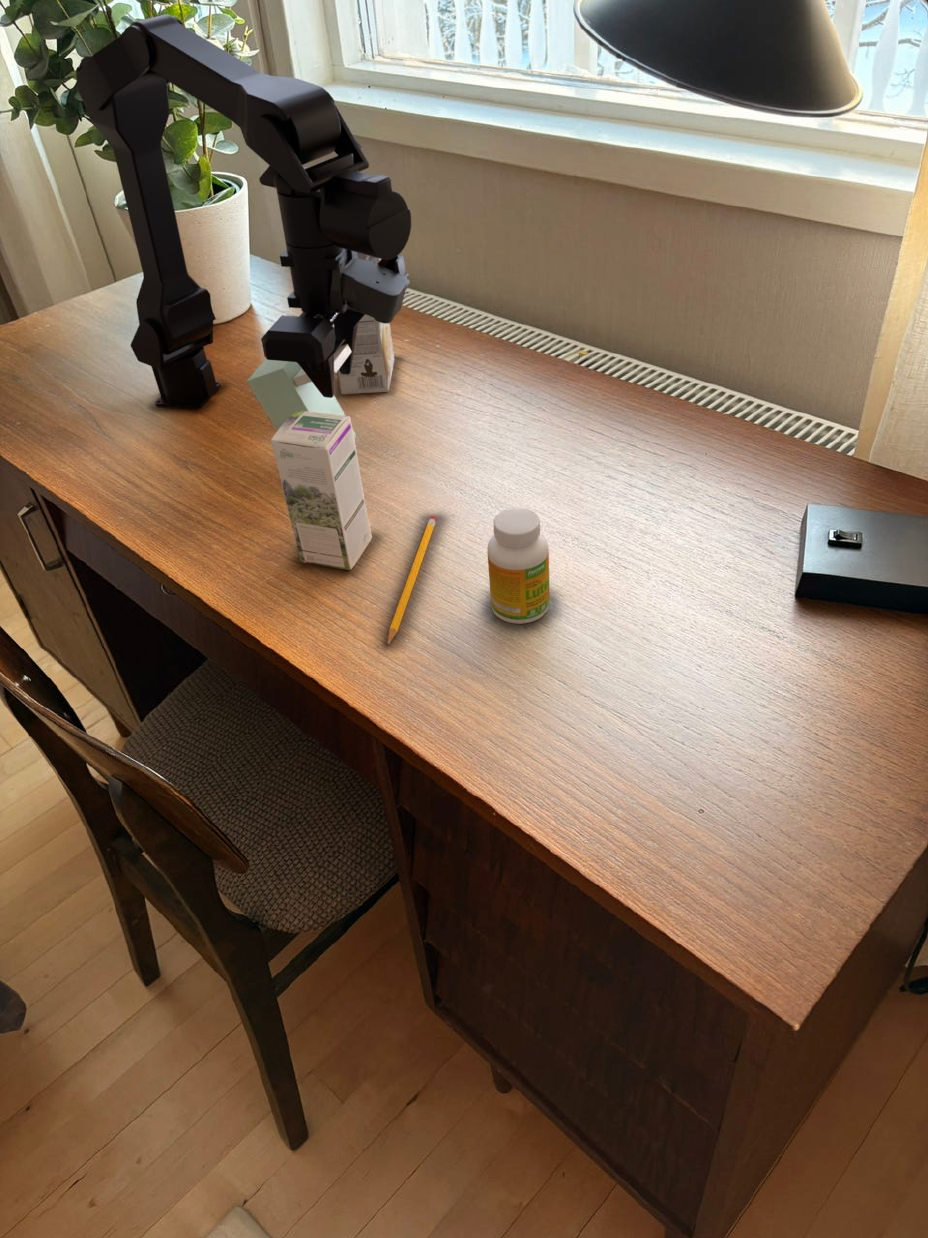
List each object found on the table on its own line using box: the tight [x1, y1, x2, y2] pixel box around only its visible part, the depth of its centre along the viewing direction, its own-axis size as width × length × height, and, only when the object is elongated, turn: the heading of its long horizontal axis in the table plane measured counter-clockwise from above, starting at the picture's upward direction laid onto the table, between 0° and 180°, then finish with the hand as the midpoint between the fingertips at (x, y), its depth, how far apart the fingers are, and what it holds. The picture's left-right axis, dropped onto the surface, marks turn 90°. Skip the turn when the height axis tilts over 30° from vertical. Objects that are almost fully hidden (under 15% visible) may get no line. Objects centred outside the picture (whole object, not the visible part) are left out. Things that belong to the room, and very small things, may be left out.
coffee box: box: [336, 252, 395, 395], centre depth 117 cm, size 9×6×16 cm
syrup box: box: [270, 410, 373, 571], centre depth 90 cm, size 6×6×14 cm
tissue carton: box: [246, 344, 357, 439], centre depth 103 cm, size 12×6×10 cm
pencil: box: [387, 515, 438, 645], centre depth 91 cm, size 1×19×1 cm, turn 169°
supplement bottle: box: [487, 507, 550, 625], centre depth 84 cm, size 5×5×10 cm
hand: (337, 385), depth 101 cm, fingers closed on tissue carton, 5 cm apart
